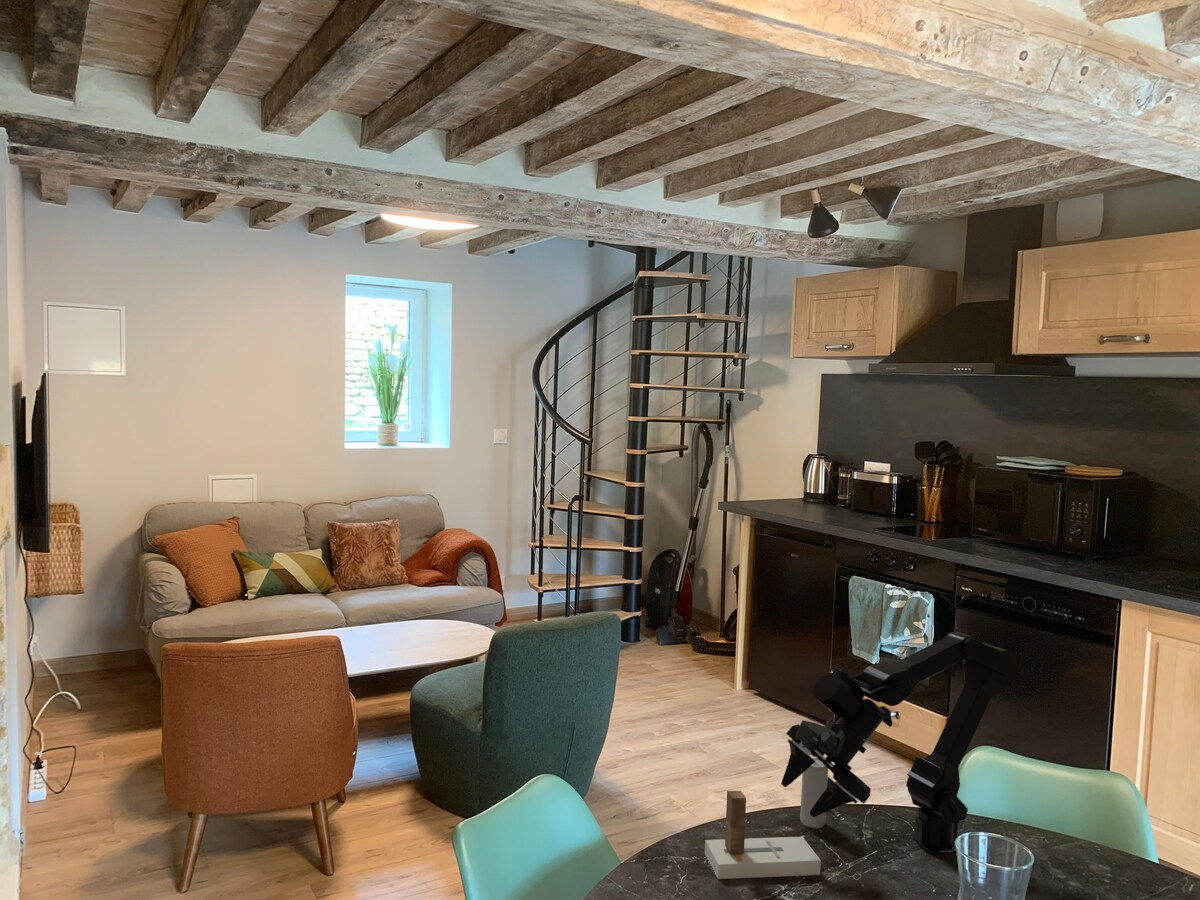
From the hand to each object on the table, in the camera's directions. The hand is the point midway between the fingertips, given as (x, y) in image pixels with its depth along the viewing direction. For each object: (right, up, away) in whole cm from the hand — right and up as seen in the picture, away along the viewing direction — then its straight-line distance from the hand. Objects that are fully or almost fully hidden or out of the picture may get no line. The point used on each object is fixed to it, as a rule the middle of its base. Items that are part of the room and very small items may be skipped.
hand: (796, 800), depth 156 cm
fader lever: (-11, -8, -1) cm, 14 cm away
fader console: (-6, -11, 0) cm, 13 cm away
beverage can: (+7, -11, +16) cm, 21 cm away
